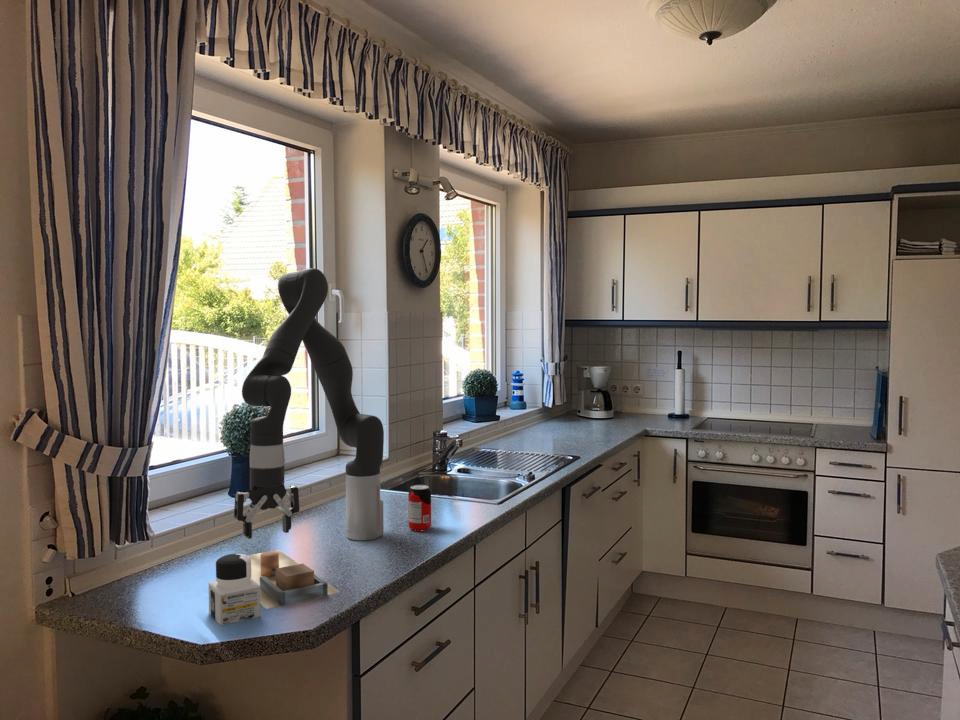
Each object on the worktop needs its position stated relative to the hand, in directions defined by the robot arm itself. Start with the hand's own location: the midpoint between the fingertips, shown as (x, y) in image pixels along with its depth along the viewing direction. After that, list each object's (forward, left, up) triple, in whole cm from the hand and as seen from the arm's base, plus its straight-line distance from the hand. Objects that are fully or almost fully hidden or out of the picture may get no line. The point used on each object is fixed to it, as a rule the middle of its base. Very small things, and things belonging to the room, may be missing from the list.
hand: (267, 535), depth 172 cm
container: (+14, +19, -11) cm, 26 cm away
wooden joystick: (0, +8, -9) cm, 12 cm away
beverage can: (-49, -16, -11) cm, 53 cm away
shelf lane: (0, +2, -10) cm, 11 cm away
